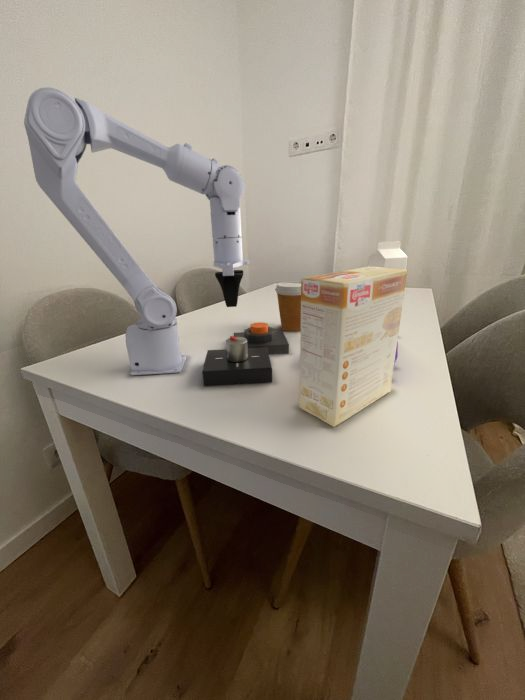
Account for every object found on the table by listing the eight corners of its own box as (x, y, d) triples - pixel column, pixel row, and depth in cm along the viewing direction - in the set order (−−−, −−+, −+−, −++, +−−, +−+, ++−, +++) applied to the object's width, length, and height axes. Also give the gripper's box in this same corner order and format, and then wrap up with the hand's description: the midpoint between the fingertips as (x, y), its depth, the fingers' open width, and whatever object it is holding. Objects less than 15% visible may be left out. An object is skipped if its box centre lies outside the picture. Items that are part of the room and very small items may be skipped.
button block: (233, 356, 65) (232, 339, 64) (234, 341, 74) (233, 325, 73) (288, 353, 66) (288, 336, 64) (282, 338, 75) (282, 323, 74)
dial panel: (203, 386, 53) (202, 370, 52) (209, 363, 62) (207, 349, 61) (272, 382, 53) (272, 366, 52) (267, 360, 63) (266, 346, 62)
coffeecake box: (355, 377, 55) (365, 265, 47) (392, 392, 49) (410, 269, 42) (296, 407, 46) (298, 276, 39) (334, 429, 41) (345, 282, 33)
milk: (396, 337, 74) (411, 241, 65) (374, 340, 72) (387, 242, 64) (380, 330, 79) (392, 240, 71) (360, 332, 78) (370, 241, 69)
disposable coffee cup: (304, 335, 77) (305, 288, 72) (270, 331, 81) (269, 286, 76) (314, 325, 85) (316, 281, 80) (283, 321, 89) (283, 280, 84)
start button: (250, 335, 67) (250, 327, 66) (250, 329, 70) (249, 322, 70) (268, 334, 67) (268, 327, 66) (267, 329, 71) (267, 321, 70)
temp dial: (252, 358, 56) (251, 339, 55) (233, 364, 54) (231, 344, 53) (241, 352, 59) (240, 333, 58) (222, 357, 57) (221, 338, 56)
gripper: (248, 238, 53) (251, 313, 58) (246, 236, 66) (249, 298, 71) (208, 239, 52) (214, 315, 57) (214, 237, 66) (219, 299, 71)
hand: (231, 306), depth 64 cm, fingers closed
